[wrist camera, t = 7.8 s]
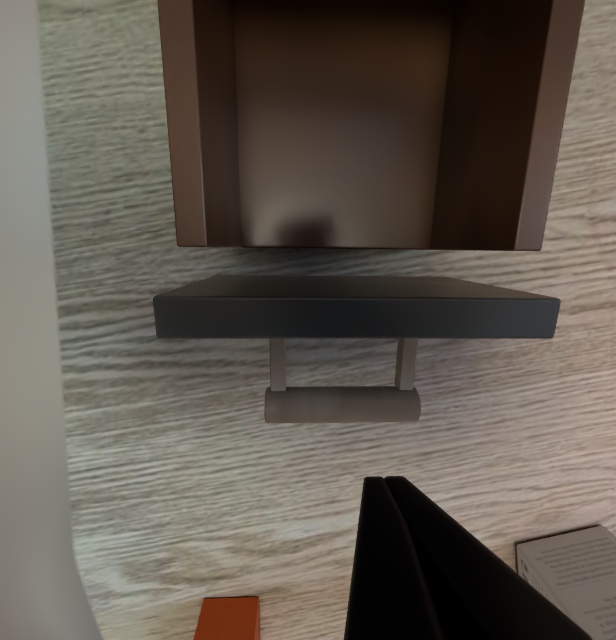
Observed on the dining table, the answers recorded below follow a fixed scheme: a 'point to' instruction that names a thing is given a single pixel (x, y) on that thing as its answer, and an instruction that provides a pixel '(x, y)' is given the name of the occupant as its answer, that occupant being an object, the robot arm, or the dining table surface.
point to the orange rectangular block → (229, 619)
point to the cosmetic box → (576, 576)
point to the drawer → (362, 170)
